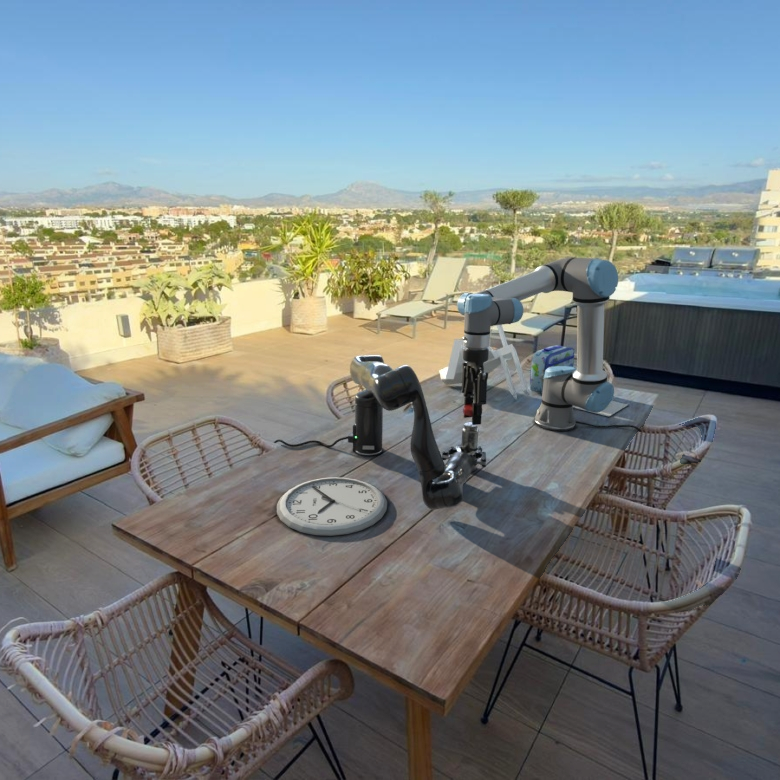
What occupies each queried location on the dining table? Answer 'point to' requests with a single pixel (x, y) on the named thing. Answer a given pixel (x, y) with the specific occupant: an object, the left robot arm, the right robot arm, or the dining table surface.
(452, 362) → the white plastic object
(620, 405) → the invitation card
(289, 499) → the wall clock
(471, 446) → the bottle
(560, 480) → the dining table surface
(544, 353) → the lunch box
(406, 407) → the fork
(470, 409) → the lid
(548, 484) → the dining table surface
